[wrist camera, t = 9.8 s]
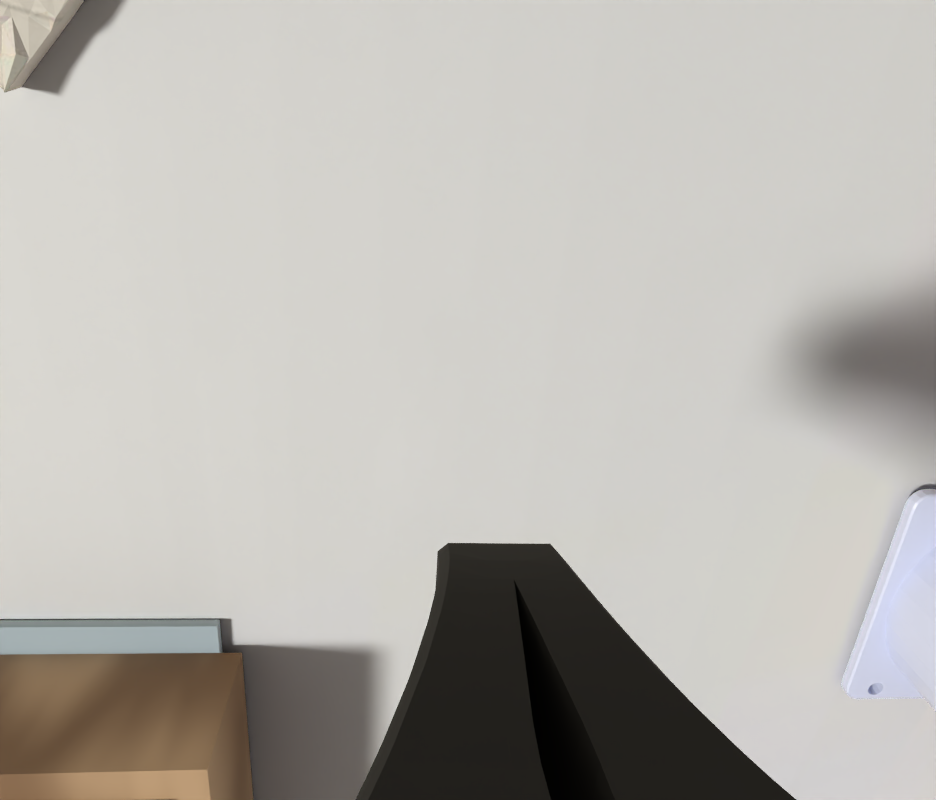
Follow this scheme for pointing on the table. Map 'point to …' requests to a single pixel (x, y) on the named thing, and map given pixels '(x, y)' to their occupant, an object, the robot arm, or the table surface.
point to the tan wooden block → (124, 727)
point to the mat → (109, 636)
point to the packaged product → (29, 35)
